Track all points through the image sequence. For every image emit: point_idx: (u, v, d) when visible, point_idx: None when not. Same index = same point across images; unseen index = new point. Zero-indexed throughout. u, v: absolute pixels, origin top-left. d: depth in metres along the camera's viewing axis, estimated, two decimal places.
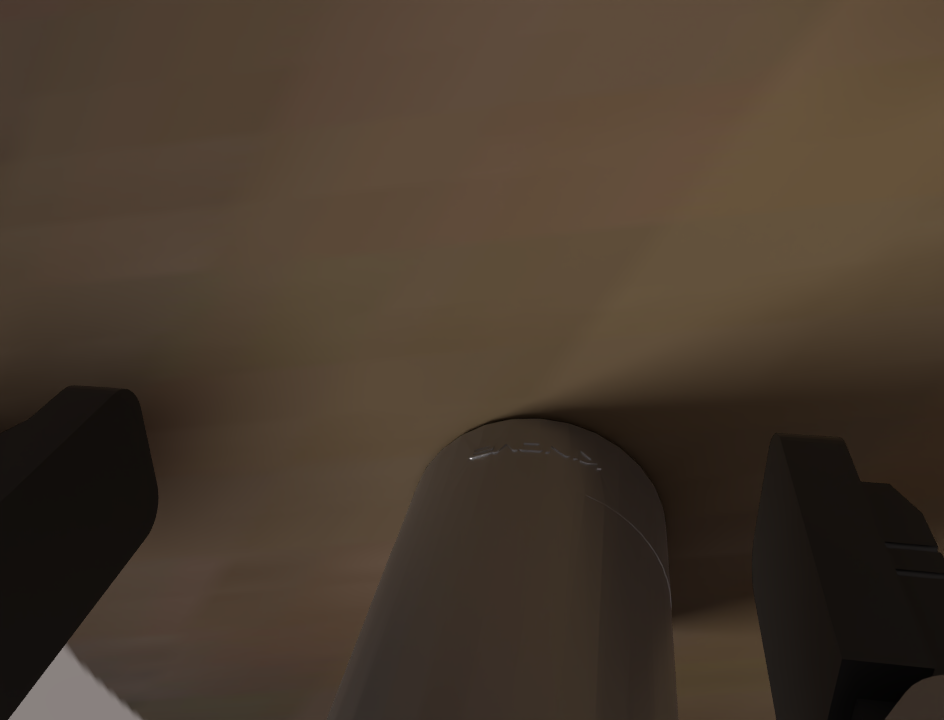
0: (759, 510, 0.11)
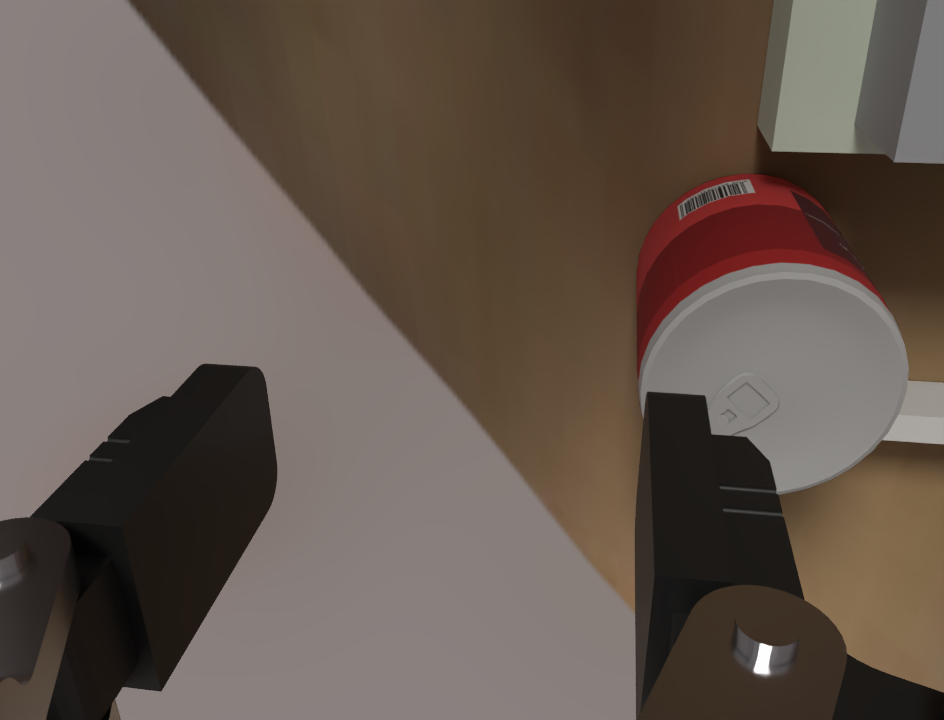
0: (639, 465, 0.12)
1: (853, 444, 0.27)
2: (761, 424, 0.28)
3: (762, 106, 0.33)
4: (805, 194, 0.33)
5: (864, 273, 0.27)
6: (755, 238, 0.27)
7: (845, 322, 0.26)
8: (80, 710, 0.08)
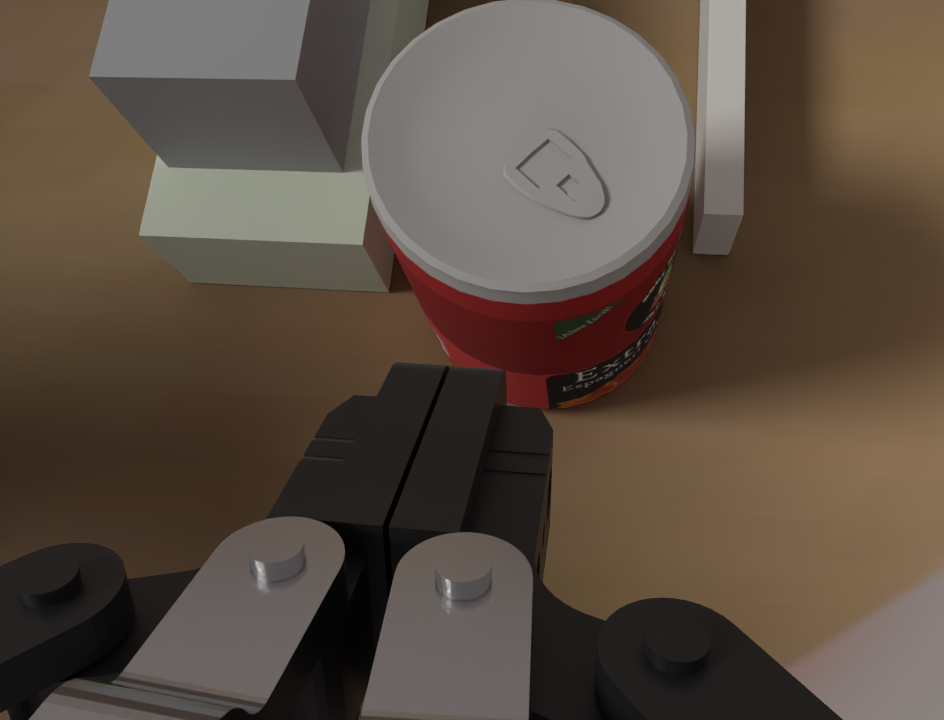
0: None
1: (605, 39, 0.21)
2: (583, 147, 0.20)
3: (361, 283, 0.31)
4: None
5: None
6: None
7: (435, 73, 0.21)
8: None
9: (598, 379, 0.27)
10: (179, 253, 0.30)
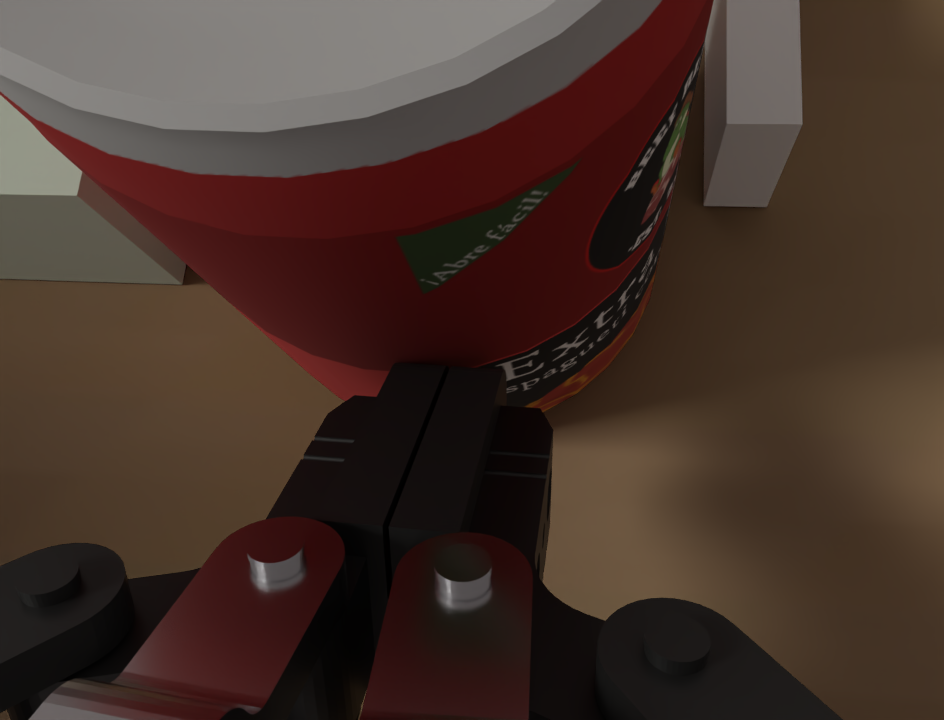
0: None
1: None
2: None
3: (126, 270, 0.18)
4: None
5: None
6: None
7: None
8: None
9: (548, 374, 0.14)
10: None
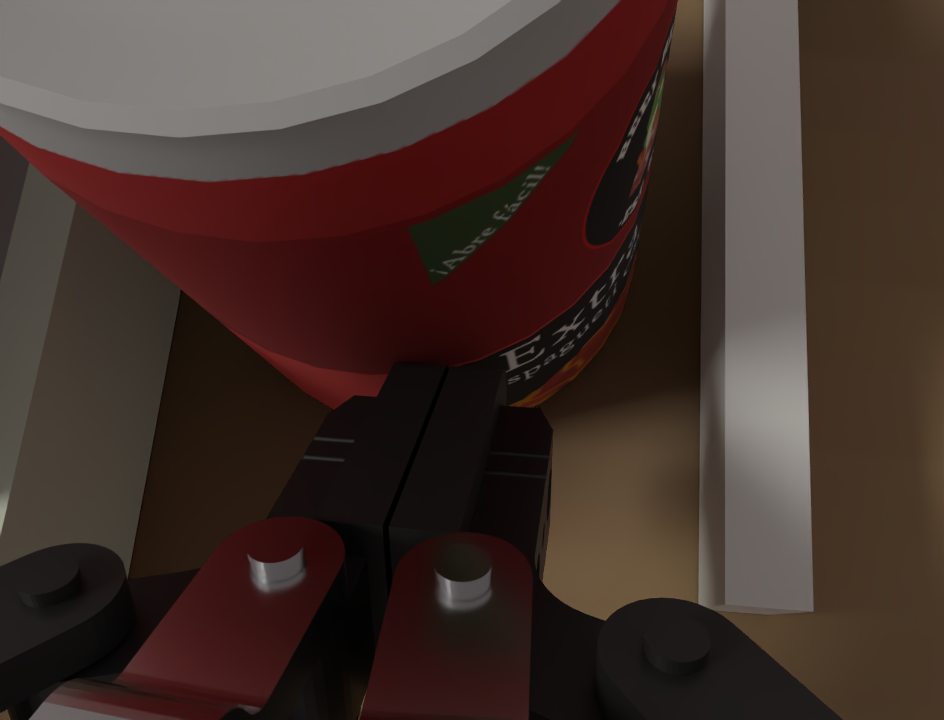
0: None
1: None
2: None
3: None
4: None
5: None
6: None
7: None
8: None
9: (548, 360, 0.14)
10: None
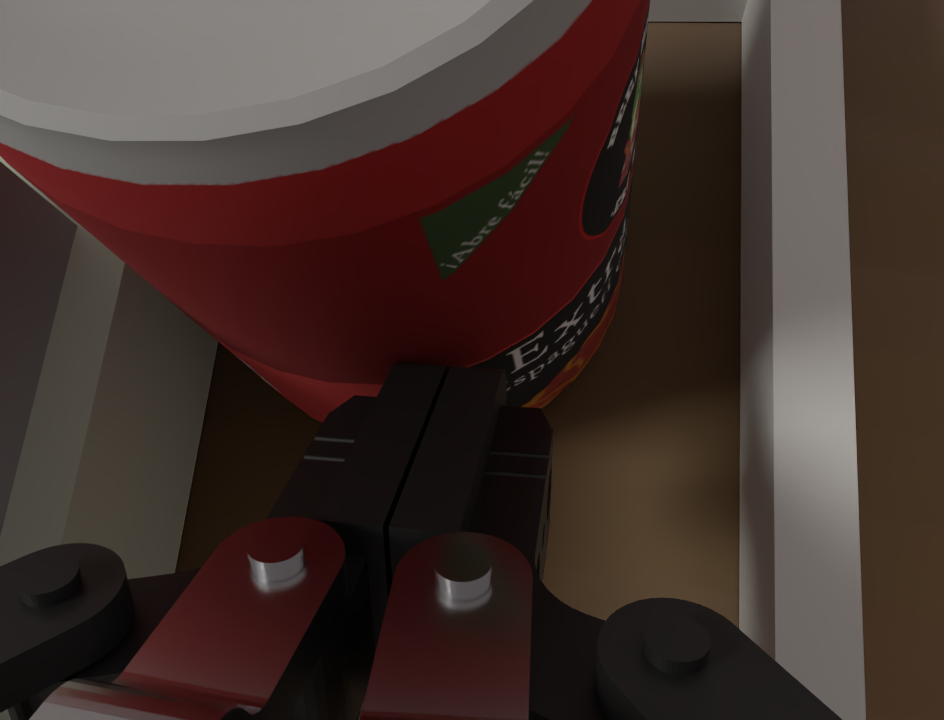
0: None
1: None
2: None
3: None
4: None
5: None
6: None
7: None
8: None
9: (551, 358, 0.14)
10: None
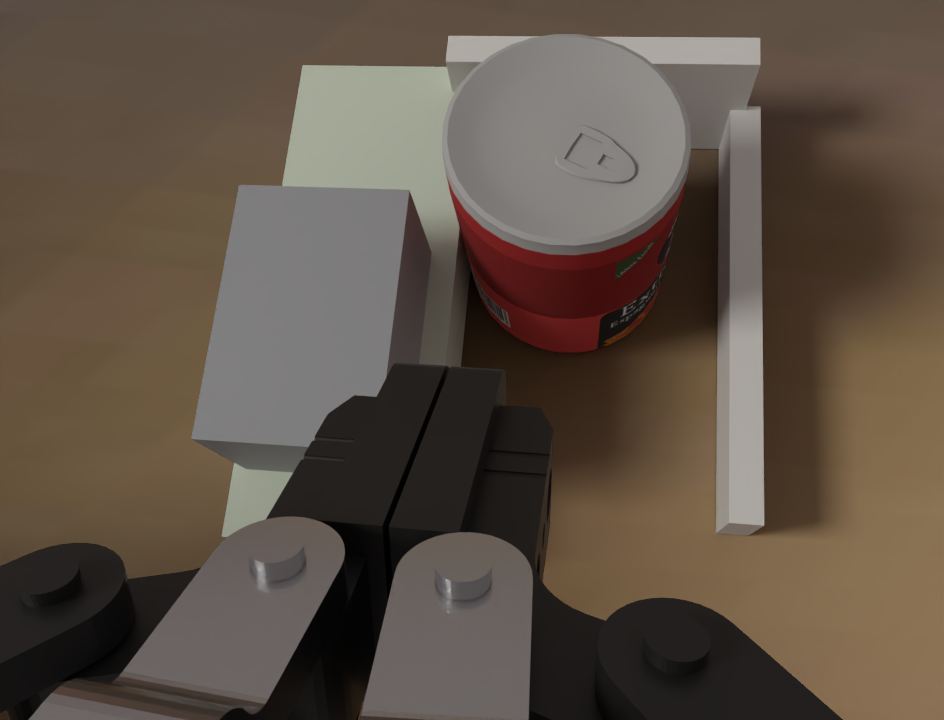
0: None
1: (600, 54, 0.29)
2: (607, 133, 0.28)
3: None
4: None
5: None
6: (458, 216, 0.30)
7: (483, 105, 0.29)
8: None
9: (635, 312, 0.34)
10: None
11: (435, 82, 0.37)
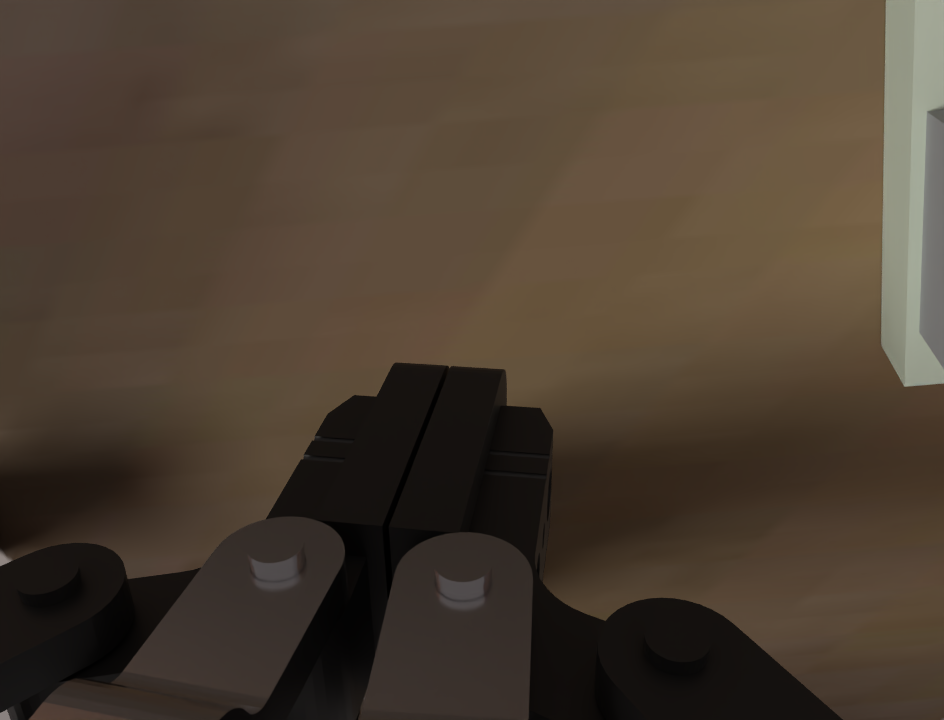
0: None
1: None
2: None
3: None
4: None
5: None
6: None
7: None
8: None
9: None
10: None
11: None
